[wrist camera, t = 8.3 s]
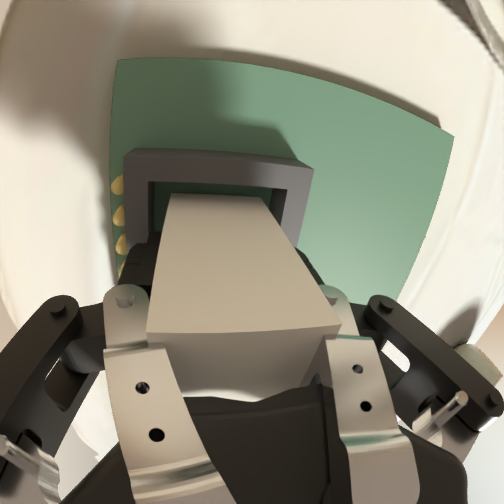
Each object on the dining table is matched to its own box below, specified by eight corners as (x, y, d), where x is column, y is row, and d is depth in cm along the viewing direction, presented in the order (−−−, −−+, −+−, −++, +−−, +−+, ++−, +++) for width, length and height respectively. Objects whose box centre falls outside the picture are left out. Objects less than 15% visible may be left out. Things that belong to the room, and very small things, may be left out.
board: (124, 63, 9) (103, 52, 7) (442, 132, 14) (475, 143, 11) (132, 324, 17) (126, 360, 14) (378, 313, 22) (396, 338, 19)
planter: (480, 328, 34) (511, 367, 25) (445, 373, 40) (470, 410, 31) (448, 340, 31) (485, 391, 22) (408, 389, 37) (435, 435, 28)
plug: (171, 192, 11) (145, 332, 5) (260, 197, 12) (342, 323, 6) (171, 282, 14) (169, 429, 7) (246, 283, 15) (289, 420, 8)
